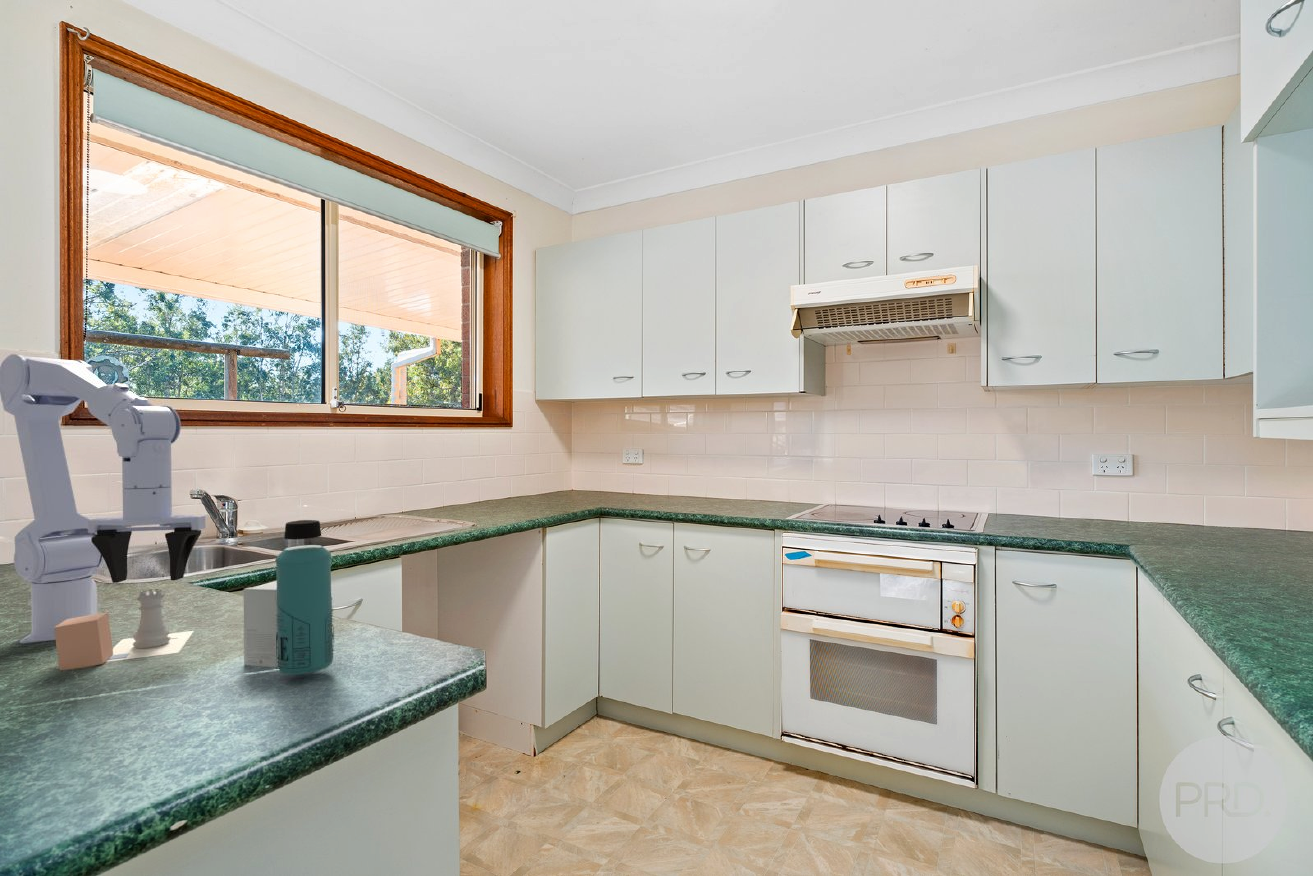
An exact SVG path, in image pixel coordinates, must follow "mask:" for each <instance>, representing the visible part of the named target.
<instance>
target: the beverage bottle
mask: <svg viewBox="0 0 1313 876" xmlns="http://www.w3.org/2000/svg"><path fill="white" fill-rule="evenodd" d="M284 526H285V529H284V533H283V534H284V535H283V536H284V537H283V539H285V540H307V539H314V538H320V537H322V529H321V522H320V520H316V519H300V520H294V521H293V520H292V521H288V522H286V523H285V525H284ZM275 557H276V558H275V559H274V560H275V568H276V569H275V570H276V571H275V572H276V573H275V574H276V581H277V588H276V589H277V599H276V600H277V614H276V615H277V628H276V629H277V635H276V656H277V648H278V658H277V659H278V662H277V663H278V665H277V666H278V667H277V668H278V670H279V672H280V673H282V674H286V675H300V674H302V675H303V674H308V673H314V672H317V671H318V672H319V671H321V670H323V669H326V668H327V667H330V666H331V665H332V663H333V659H334V658H335V656H334V655H335V650H334V648H335V645H334V643H335V626H334V624H333V603H332V602H333V601H334V600H333V598H332V572H331V571H332V569H331V563H332V562H331V558H332V553H331V552H330V551H329V550H328V549H326V548H325V547H324V546H323V545H319V544H318V545H316V544H308V545H298V546H297V545H296V546H291V547H286V548H284V549H283V550H282V551H281V552H280V553H279V554H278V555H277V556H275ZM275 617H276V616H275ZM277 641H278V647H277ZM276 661H277V660H276Z"/></svg>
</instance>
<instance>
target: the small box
mask: <svg viewBox="0 0 1313 876" xmlns="http://www.w3.org/2000/svg"><path fill="white" fill-rule="evenodd" d="M276 588H277V580H273V581H269V582H267V583H263V584H261V585H256V586H252V587H246V588H243V665H244V666H253V667H255V666H256V667H267V668H269V667H270V668H278V666H277V665H278V663H277V662H278V659H277V658H278V648H277V656H276V635H277V629H276V628H277V615H276V614H277V600H276V599H277V589H276ZM275 616H276V617H275ZM277 647H278V641H277ZM276 660H277V661H276Z"/></svg>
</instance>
